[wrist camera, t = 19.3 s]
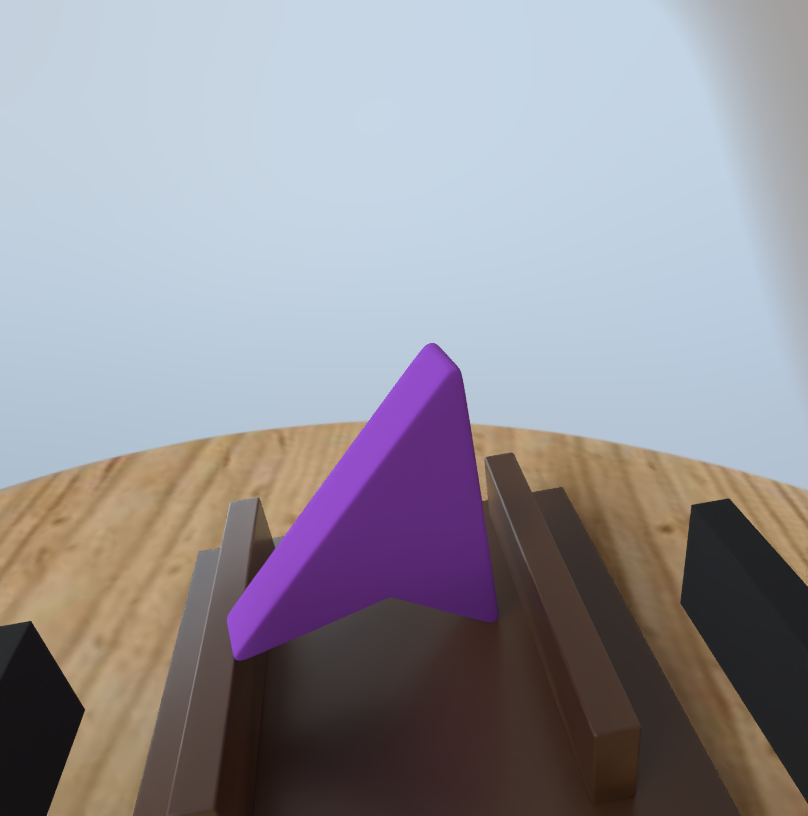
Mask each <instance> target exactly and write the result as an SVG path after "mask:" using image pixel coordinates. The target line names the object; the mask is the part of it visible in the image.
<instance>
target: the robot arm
mask: <svg viewBox="0 0 808 816" xmlns="http://www.w3.org/2000/svg"><path fill="white" fill-rule="evenodd" d="M681 605H682V606H683V608H684V609H685V611H686V613H687V614H688V616H689V617H690V619H691V620H692V622H693V624H694V625H695V627H696V628H697V630H698V631H699V633H700V635H701V636H702V638H703V639H704V641H705V642H706V644H707V646H708V647H709V649H710V650H711V652H712V654H713V655H714V657H715V658H716V660H717V661H718V663H719V665H720V666H721V668H722V669H723V671H724V672H725V674H726V676H727V677H728V679H729V680H730V682H731V683H732V685H733V687H734V688H735V690H736V691H737V693H738V694H739V696H740V698H741V699H742V701H743V702H744V704H745V705H746V707H747V709H748V710H749V712H750V713H751V715H752V716H753V718H754V720H755V721H756V723H757V724H758V726H759V727H760V729H761V731H762V732H763V734H764V735H765V737H766V739H767V740H768V742H769V743H770V745H771V746H772V748H773V750H774V751H775V753H776V754H777V756H778V757H779V759H780V761H781V762H782V764H783V765H784V767H785V768H786V770H787V772H788V773H789V775H790V776H791V778H792V779H793V781H794V783H795V784H796V786H797V787H798V789H799V790H800V792H801V794H802V795H803V797H804V798H805V800H806V801H807V803H808V586H807V585H806V584H805V583H804V582H803V581H802V580H801V579H800V577H799V576H798V575H797V574H796V573H795V572H794V571H793V570H792V569H791V567H790V566H789V565H788V564H787V563H786V562H785V561H784V560H783V558H782V557H781V556H780V555H779V554H778V553H777V552H776V551H775V549H774V548H773V547H772V546H771V545H770V544H769V543H768V542H767V540H766V539H765V538H764V537H763V536H762V535H761V534H760V533H759V531H758V530H757V529H756V528H755V527H754V526H753V525H752V524H751V522H750V521H749V520H748V519H747V518H746V517H745V516H744V515H743V513H742V512H741V511H740V510H739V509H738V508H737V507H736V506H735V504H734V503H733V502H732V501H731V500H730V499H723V500H717V501H712V502H706V503H700V504H695V505H692V506H691V515H690V523H689V532H688V541H687V550H686V559H685V567H684V576H683V585H682V594H681ZM84 712H85V709H84V707H83V706H82V704H81V702H80V701H79V699H78V697H77V696H76V694H75V692H74V691H73V689H72V687H71V686H70V684H69V683H68V681H67V679H66V678H65V676H64V674H63V673H62V671H61V669H60V668H59V666H58V665H57V663H56V661H55V660H54V658H53V656H52V655H51V653H50V651H49V650H48V648H47V646H46V645H45V643H44V642H43V640H42V638H41V637H40V635H39V633H38V632H37V630H36V628H35V627H34V625H33V624H32V622H31V621H28V622H23V623H17V624H11V625H6V626H0V816H47V813H48V810H49V808H50V805H51V802H52V799H53V797H54V794H55V791H56V788H57V786H58V783H59V780H60V777H61V775H62V772H63V769H64V766H65V764H66V761H67V758H68V755H69V753H70V750H71V747H72V744H73V742H74V739H75V736H76V734H77V731H78V728H79V725H80V723H81V720H82V717H83V714H84Z"/></svg>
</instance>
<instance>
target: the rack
mask: <svg viewBox="0 0 808 816" xmlns="http://www.w3.org/2000/svg"><path fill="white" fill-rule="evenodd" d="M485 471H486V483H487V494H488V500H486V501H482V505H483V511H484V518H485V524H486V531H487V538H488V544H489V551H490V558H491V564H492V571H493V578H494V585H495V592H496V599H497V606H498V615H499V617H498V619H497V620H496V621H495V622H492V623H490V622H485V621H481V620H477V619H473V618H469V617H465V616H461V615H457V614H454V613H450V612H446V611H442V610H438V609H434V608H431V607H427V606H423V605H419V604H416V603H412V602H408V601H404V600H400V599H397V598H393V597H389V598H387V599H385V600H382V601H380V602H378V603H376V604H373V605H371V606H369V607H366V608H364V609H362V610H360V611H357V612H355V613H353V614H350V615H348V616H346V617H344V618H341V619H339V620H337V621H334V622H332V623H330V624H327V625H325V626H323V627H321V628H318V629H316V630H314V631H311V632H309V633H307V634H304V635H302V636H300V637H298V638H295V639H293V640H291V641H288V642H286V643H284V644H281V645H279V646H277V647H274V648H272V649H270V650H267V651H265V652H263V653H260V654H258V655H256V656H253V657H251V658H248V659H245V660H236V659H235V658H234V656H233V652H232V647H231V641H230V636H229V630H228V625H227V617H228V614H229V613H230V611H231V610H232V608H233V607H234V605H235V604H236V603H237V601H238V600H239V598H240V597H241V596H242V594H243V593H244V591H245V590H246V589H247V587H248V586H249V584H250V583H251V582H252V580H253V579H254V578H255V576H256V575H257V573H258V572H259V571H260V569H261V568H262V567H263V565H264V564H265V562H266V561H267V560H268V558H269V557H270V555H271V554H272V553H273V551H274V550H275V549H276V547H277V546H278V544H279V543H280V542H281V540H282V539H283V538H284V536H283V537H277V538H272V536H271V533H270V530H269V527H268V523H267V520H266V517H265V514H264V511H263V507H262V504H261V501H260V498H259V497H255V498H250V499H244V500H238V501H232V502H230V505H229V510H228V515H227V520H226V524H225V529H224V534H223V539H222V544H221V548H215V549H210V550H204V551H199V552H198V555H197V559H196V563H195V567H194V571H193V575H192V579H191V583H190V587H189V591H188V595H187V599H186V603H185V607H184V611H183V615H182V619H181V624H180V628H179V632H178V636H177V640H176V644H175V648H174V652H173V656H172V660H171V664H170V668H169V672H168V676H167V680H166V684H165V688H164V692H163V696H162V700H161V704H160V708H159V712H158V716H157V720H156V724H155V728H154V732H153V737H152V741H151V745H150V749H149V753H148V757H147V761H146V765H145V769H144V773H143V777H142V781H141V785H140V789H139V793H138V797H137V801H136V805H135V809H134V813H133V816H741V815H740V813H739V811H738V809H737V808H736V806H735V804H734V802H733V800H732V798H731V796H730V795H729V793H728V791H727V789H726V787H725V785H724V784H723V782H722V780H721V778H720V776H719V774H718V773H717V771H716V769H715V767H714V765H713V763H712V762H711V760H710V758H709V756H708V754H707V752H706V750H705V749H704V747H703V745H702V743H701V741H700V739H699V738H698V736H697V734H696V732H695V730H694V728H693V727H692V725H691V723H690V721H689V719H688V717H687V715H686V714H685V712H684V710H683V708H682V706H681V704H680V703H679V701H678V699H677V697H676V695H675V693H674V692H673V690H672V688H671V686H670V684H669V682H668V681H667V679H666V677H665V675H664V673H663V671H662V669H661V668H660V666H659V664H658V662H657V660H656V658H655V657H654V655H653V653H652V651H651V649H650V647H649V646H648V644H647V642H646V640H645V638H644V636H643V634H642V633H641V631H640V629H639V627H638V625H637V623H636V622H635V620H634V618H633V616H632V614H631V612H630V611H629V609H628V607H627V605H626V603H625V601H624V600H623V598H622V596H621V594H620V592H619V590H618V588H617V587H616V585H615V583H614V581H613V579H612V577H611V576H610V574H609V572H608V570H607V568H606V566H605V565H604V563H603V561H602V559H601V557H600V555H599V554H598V552H597V550H596V548H595V546H594V544H593V542H592V541H591V539H590V537H589V535H588V533H587V531H586V530H585V528H584V526H583V524H582V522H581V520H580V519H579V517H578V515H577V513H576V511H575V509H574V507H573V506H572V504H571V502H570V500H569V498H568V496H567V495H566V493H565V491H564V489H563V487H559V488H553V489H548V490H542V491H536V492H531V490H530V487H529V485H528V483H527V481H526V479H525V477H524V475H523V472H522V470H521V468H520V466H519V464H518V462H517V460H516V458H515V455H514V454H513V453H506V454H500V455H495V456H489V457H485Z"/></svg>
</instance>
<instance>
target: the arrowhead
mask: <svg viewBox="0 0 808 816" xmlns="http://www.w3.org/2000/svg"><path fill="white" fill-rule="evenodd" d="M389 597H393V598H397V599H400V600H404V601H408V602H412V603H416V604H419V605H423V606H427V607H431V608H434V609H438V610H442V611H446V612H450V613H454V614H457V615H461V616H465V617H469V618H473V619H477V620H481V621H485V622H490V623H492V622H495V621H496V620H497V619H498V617H499V615H498V606H497V599H496V592H495V585H494V578H493V571H492V564H491V558H490V551H489V544H488V538H487V531H486V524H485V518H484V511H483V505H482V498H481V491H480V485H479V478H478V472H477V465H476V459H475V452H474V446H473V439H472V433H471V426H470V420H469V414H468V408H467V402H466V395H465V390H464V384H463V379H462V374H461V371H460V369H459V368H458V366H457V365H456V364H455V363H454V362H453V361H452V360H451V359H450V358H449V357H448V355H447V354H445V352H444V351H443V350H442V349H441V348H440V347H439V346H438V345H437V344H435V343H430V344H427V345H426V346H425V347H424V348H423V349H422V350H421V351H420V353H419V354H418V355H417V357H416V358H415V359H414V360H413V362H412V363H411V364H410V366H409V367H408V368H407V370H406V371H405V373H404V374H403V375H402V377H401V378H400V379H399V381H398V382H397V383H396V385H395V386H394V387H393V389H392V390H391V391H390V393H389V394H388V396H387V397H386V398H385V399H384V401H383V402H382V404H381V405H380V406H379V408H378V409H377V410H376V412H375V413H374V414H373V416H372V417H371V419H370V420H369V421H368V423H367V424H366V425H365V427H364V428H363V429H362V431H361V432H360V434H359V435H358V436H357V438H356V439H355V440H354V442H353V443H352V444H351V446H350V447H349V449H348V450H347V451H346V453H345V454H344V455H343V457H342V458H341V460H340V461H339V462H338V464H337V465H336V466H335V468H334V469H333V470H332V472H331V473H330V475H329V476H328V477H327V479H326V480H325V481H324V483H323V484H322V486H321V487H320V488H319V490H318V491H317V492H316V494H315V495H314V496H313V498H312V499H311V501H310V502H309V503H308V505H307V506H306V507H305V509H304V510H303V512H302V513H301V514H300V516H299V517H298V518H297V520H296V521H295V523H294V524H293V525H292V527H291V528H290V529H289V531H288V532H287V534H286V535H285V536H284V538H283V539H282V540H281V542H280V543H279V544H278V546H277V547H276V549H275V550H274V551H273V553H272V554H271V555H270V557H269V558H268V560H267V561H266V562H265V564H264V565H263V567H262V568H261V569H260V571H259V572H258V573H257V575H256V576H255V578H254V579H253V580H252V582H251V583H250V584H249V586H248V587H247V589H246V590H245V591H244V593H243V594H242V596H241V597H240V598H239V600H238V601H237V603H236V604H235V605H234V607H233V608H232V610H231V611H230V613H229V614H228V617H227V625H228V630H229V636H230V641H231V647H232V652H233V656H234V658H235V659H236V660H245V659H248V658H251V657H253V656H256V655H258V654H260V653H263V652H265V651H267V650H270V649H272V648H274V647H277V646H279V645H281V644H284V643H286V642H288V641H291V640H293V639H295V638H298V637H300V636H302V635H304V634H307V633H309V632H311V631H314V630H316V629H318V628H321V627H323V626H325V625H327V624H330V623H332V622H334V621H337V620H339V619H341V618H344V617H346V616H348V615H350V614H353V613H355V612H357V611H360V610H362V609H364V608H366V607H369V606H371V605H373V604H376V603H378V602H380V601H382V600H385V599H387V598H389Z"/></svg>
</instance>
